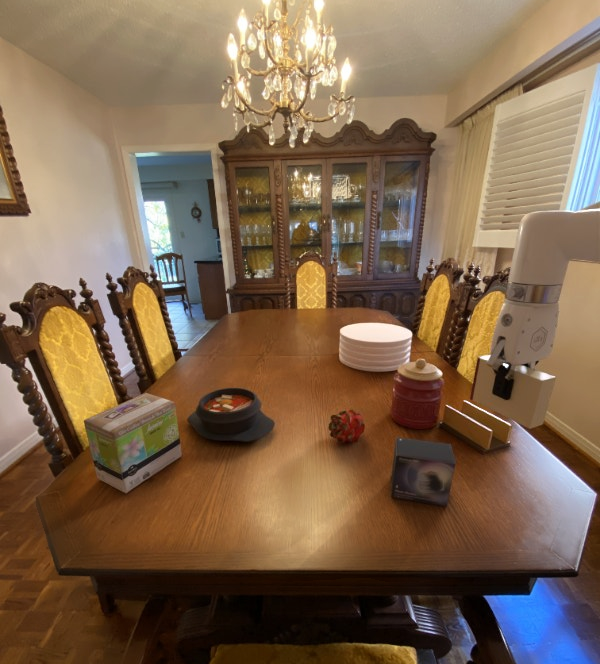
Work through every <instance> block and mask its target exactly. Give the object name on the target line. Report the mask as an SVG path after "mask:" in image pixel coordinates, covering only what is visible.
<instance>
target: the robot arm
mask: <svg viewBox="0 0 600 664" xmlns="http://www.w3.org/2000/svg"><path fill="white" fill-rule="evenodd" d="M571 260H576V261H585V262H586V261H587V262H592V263H598V264H599V263H600V201H597V202H595V203H593V204H591V205H588V206H585V207H583V208H580V209H578V210H576V211H572V210H540V211H532V212H528V213H526V214H525V215H524V216H522V217H521V219H520V221H519V225H518V230H517V234H516V238H515V244H514V249H513V253H512V259H511V264H510V268H509V273H508V278H507V283H506V289H505V293H504V299H503V301H504V302H503V303H502V306H501V308H500V311H499V314H498V317H497V320H496V323H495V325H494V330H493V334H492V338H491V343H490V351H489V355H491V356H490V358H489V359H488V361H487V365H488V366H489V367H491V368H492V369H493V370H494V374H495V375H496V376H495V380H494V385H493V390H492V394H493V395H496V396H498V397H500V398H502V399H504V400H509V399H510V396H511V392H512V387H513V383H514V379H511V378H512V376H513V373H514V370H515V367H516V365H523V366H526V367H528V368H531V369H534V370H536V366H537V364H538V363H539V362H540V361H543V360H545V359H547V358H549V357H550V356H551V355H552V351H553V346H554V343H555V338H556V332H557V327H558V321H559V309H560V304H559V303H560V302H559V301H560V298H561V294H562V289H563V285H564V282H565V277H566V275H567V270H568V268H569V267H568V266H569V263H570V261H571ZM504 363H505V364H508V365H509V366H508V369H506V367H505V366H503V364H504Z"/></svg>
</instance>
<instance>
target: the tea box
mask: <svg viewBox="0 0 600 664" xmlns="http://www.w3.org/2000/svg"><path fill="white" fill-rule="evenodd" d="M83 423H84V429H85V433H86V437H87V442H88V445H89V450H90V454H91V458H92V462H93V465H94V470H95V474H96V477H97V479H98V480H100V481H101V482H103V483H105V484H107V485H109V486H110V487H113V488H115V489H116V490H118V491H120V492H122V493H125V494H128V493H129V492H130V491H132V490H133V489H134V488H136V487H138V486H139V485H140V484H142V483H143V482H145V481H146V480H148V479H150V478H151V477H152V476H154V475H156V474H157V473H159V472H161V470H163V469H165V468H166V467H167V466H169V465H170V464H172V463H174V462H176V461H177V460H178V459H180V458H181V457H182V456H183V454H182V453H183V452H182V445H181V438H180V431H179V425H178V417H177V411H176V405H175V401H174V400H173V401H172V400H170V399H167V398H163V397H160V396H157V395H154V394H150V393H148V392H144V393H142V394H140V395H138V396H136V397H133V398H130V399H129V400H126V401H125V402H122V403H120V404H118V405H115V406H113V407H111V408H108V409H105V410H103V411H101V412H99V413H97V414H94V415H92V416H90V417H88V418H85V419H83Z"/></svg>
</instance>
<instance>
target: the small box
mask: <svg viewBox="0 0 600 664" xmlns="http://www.w3.org/2000/svg"><path fill="white" fill-rule="evenodd" d="M394 443H395V444H394V451H393V459H392V467H391V474H390V497H391V499H397V500H403V501H409V502H414V503H421V504H426V505H432V506H438V507H443V508H447V507H448V503H449V497H450V493H451V487H452V482H453V478H454V474H455V469H456V464H457V463H456V457H455V455H454V451H453V448H452V444H451V443H446V442H445V443H444V442H436V441H429V440H420V439H413V438H405V437H395V442H394Z"/></svg>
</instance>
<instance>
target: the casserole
mask: <svg viewBox="0 0 600 664" xmlns="http://www.w3.org/2000/svg"><path fill="white" fill-rule="evenodd" d="M261 408H262V402H261V400H260V399H259V398H258V396H257V394H256V393H255V392H254V391H252V390H250V389H247V388H243V387H226V388H219V389H216V390H213V391H211V392H208V393H206V394H205V395H203V396H202V397H201V398H200V400H199V401H198V405H197V406H196V407H195V410H194V411H193V412H191V414H189V416H188V417H187V418H186V420H187V423H188V424H189V425H191V426H192V427H193V428H194V430H195V432H196V433H197V434H198V435H199V436H200V437H203V438H204V439H208V440H212V441H218V442H219V441H220V442H221V441H235V442H245V443H249V442H250V443H251V442H254V441H258V440H260V439H262V438H264V437H266V436H267V435H269V434H270V433H271V432H272V431H273V430H274V428H275V425H276V422H275V420H274V419H272V418H270V417H269V416H267V415H266V414H265V413H264V412H263V411H261Z"/></svg>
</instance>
